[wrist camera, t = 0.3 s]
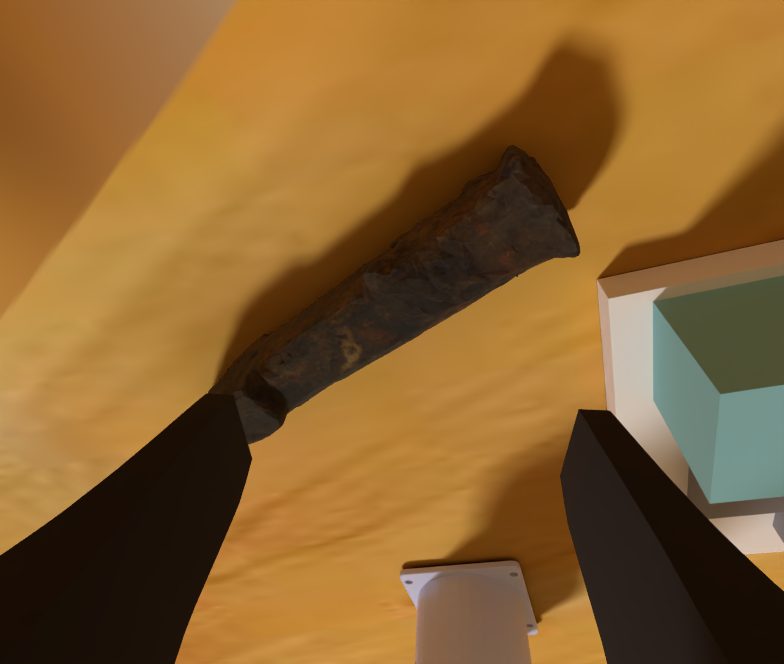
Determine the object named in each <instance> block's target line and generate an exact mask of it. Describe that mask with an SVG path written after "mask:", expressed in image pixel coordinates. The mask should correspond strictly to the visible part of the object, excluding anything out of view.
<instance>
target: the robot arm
mask: <svg viewBox="0 0 784 664" xmlns="http://www.w3.org/2000/svg"><path fill="white" fill-rule="evenodd" d="M251 461H252V457H251V453H250V450H249V446H248V443H247V440H246V436H245V433H244V429H243V426H242V422H241V419H240V415H239V412H238V409H237V405H236V402H235V398H234V395H228V394H205V395H204V396H203V397H202V398H200V399H199V400H198V401H197V402H195V403H194V404H193V405H192V406H191V407H190V408H188V409H187V410H186V411H185V412H184V413H183V414H181V415H180V416H179V417H178V418H177V419H176V420H175V421H173V422H172V423H171V424H170V425H169V426H168V427H166V428H165V429H164V430H163V431H162V432H161V433H160V434H158V435H157V436H156V437H155V438H154V439H153V440H151V441H150V442H149V443H148V444H147V445H145V446H144V447H143V448H142V449H141V450H140V451H138V452H137V453H136V454H135V455H134V456H132V457H131V458H130V459H129V460H128V461H126V462H125V463H124V464H123V465H122V466H121V467H119V468H118V469H117V470H116V471H114V472H113V473H112V474H110V475H109V476H108V477H107V478H105V479H104V480H103V481H102V482H100V483H99V484H98V485H96V486H95V487H94V488H93V489H91V490H90V491H89V492H88V493H86V494H85V495H84V496H82V497H81V498H80V499H79V500H77V501H76V502H75V503H73V504H72V505H71V506H70V507H68V508H67V509H66V510H64V511H63V512H62V513H60V514H59V515H58V516H56V517H55V518H54V519H52V520H51V521H49V522H48V523H47V524H45V525H44V526H42V527H41V528H40V529H38V530H37V531H35V532H34V533H32V534H31V535H29V536H28V537H27V538H25V539H24V540H22V541H21V542H19V543H18V544H16V545H15V546H13V547H12V548H11V549H9V550H8V551H6V552H5V553H3V554H2V555H0V664H175V661H176V658H177V655H178V652H179V649H180V646H181V643H182V640H183V637H184V634H185V631H186V628H187V626H188V623H189V620H190V618H191V615H192V613H193V610H194V608H195V605H196V603H197V601H198V598H199V596H200V594H201V591H202V589H203V587H204V585H205V582H206V580H207V578H208V575H209V573H210V571H211V568H212V566H213V564H214V561H215V559H216V557H217V555H218V552H219V550H220V548H221V545H222V543H223V541H224V538H225V536H226V534H227V531H228V529H229V527H230V524H231V522H232V520H233V517H234V515H235V512H236V510H237V508H238V505H239V502H240V499H241V496H242V493H243V489H244V486H245V483H246V479H247V476H248V472H249V468H250V465H251ZM560 477H561V484H562V491H563V497H564V503H565V509H566V515H567V521H568V525H569V529H570V533H571V536H572V540H573V543H574V547H575V551H576V554H577V558H578V561H579V565H580V568H581V572H582V575H583V578H584V582H585V585H586V589H587V592H588V596H589V599H590V603H591V606H592V609H593V613H594V616H595V620H596V623H597V627H598V630H599V634H600V637H601V640H602V644H603V648H604V652H605V656H606V660H607V664H784V591H783V590H782V589H781V588H779V587H778V586H777V585H776V584H775V583H774V582H773V581H772V580H770V579H769V578H768V577H767V576H766V575H765V574H764V573H763V572H762V571H761V570H760V569H759V568H757V567H756V566H755V565H754V564H753V563H752V562H751V561H750V560H749V559H748V558H747V557H746V556H745V555H744V554H743V553H742V552H741V551H740V550H739V549H738V548H737V547H736V546H735V545H734V544H733V543H732V542H731V541H730V540H729V539H728V538H727V537H725V536H724V535H723V534H722V533H721V532H720V531H719V530H718V529H717V528H716V527H715V526H714V525H713V523H712V522H711V521H710V520H709V519H708V518H707V517H706V516H705V515H704V514H703V513H702V512H701V511H700V510H699V509H698V508H697V507H696V506H695V505H694V504H693V503H692V502H691V500H690V499H689V498H688V497H687V496H686V495H685V494H684V493H683V492H682V491H681V490H680V489H679V488H678V487H677V485H676V484H675V483H674V482H673V481H672V480H671V479H670V478H669V477H668V476H667V475H666V473H665V472H664V471H663V470H662V469H661V468H660V467H659V466H658V465H657V463H656V462H655V461H654V460H653V459H652V458H651V457H650V455H649V454H648V453H647V452H646V451H645V450H644V449H643V448H642V446H641V445H640V444H639V443H638V442H637V441H636V439H635V438H634V437H633V436H632V435H631V434H630V433H629V431H628V430H627V429H626V428H625V427H624V426H623V425H622V423H621V422H620V421H619V420H618V419H617V418H616V417H615V416H614V414H613V413H612V412H611V411H607V410H583V409H579V410H578V414H577V417H576V421H575V424H574V428H573V432H572V435H571V439H570V442H569V446H568V449H567V453H566V457H565V460H564V464H563V467H562V471H561V474H560ZM400 579H401V581H402V583H403V585H404V587H405V588H406V590H407V592H408V594H409V596H410V597H411V599H412V601H413V603H414V605H415V606H416V608H417V628H416V653H415V664H531V656H530V649H529V642H528V635H535V634H537V633H538V626H537V623H536V619H535V616H534V612H533V609H532V605H531V602H530V599H529V595H528V592H527V588H526V585H525V581H524V578H523V574H522V571H521V567H520V564H519V563H518V562H516V561H499V562H486V563H474V564H462V565H450V566H437V567H425V568H413V569H403V570H401V571H400Z"/></svg>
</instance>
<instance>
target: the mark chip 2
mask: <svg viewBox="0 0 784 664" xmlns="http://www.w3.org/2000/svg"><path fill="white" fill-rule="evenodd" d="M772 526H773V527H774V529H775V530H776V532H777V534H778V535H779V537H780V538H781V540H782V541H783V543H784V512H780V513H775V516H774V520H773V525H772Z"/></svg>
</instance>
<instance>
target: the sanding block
mask: <svg viewBox="0 0 784 664" xmlns="http://www.w3.org/2000/svg"><path fill="white" fill-rule="evenodd" d="M653 401H654V403H655V404H656V406H657V408H658V410H659V412H660V414H661V415H662V417H663V419H664V421H665V423H666V425H667V426H668V428H669V430H670V432H671V434H672V436H673V437H674V439H675V441H676V443H677V445H678V447H679V448H680V450H681V452H682V454H683V456H684V458H685V459H686V461H687V463H688V465H689V467H690V469H691V470H692V472H693V474H694V476H695V478H696V480H697V481H698V483H699V485H700V487H701V489H702V491H703V492H704V494H705V496H706V498H707V500H708V502H709V503H710V504H713V503H723V502H733V501H743V500H753V499H763V498H773V497H783V496H784V275H783V276H778V277H773V278H768V279H763V280H758V281H753V282H748V283H743V284H738V285H733V286H728V287H723V288H718V289H713V290H708V291H703V292H698V293H693V294H688V295H683V296H678V297H673V298H668V299H663V300H657V301H653Z"/></svg>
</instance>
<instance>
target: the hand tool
mask: <svg viewBox="0 0 784 664" xmlns="http://www.w3.org/2000/svg"><path fill="white" fill-rule="evenodd" d="M579 254H580V246H579V242H578V239H577V236H576V234H575V231H574V229H573V226H572V224H571V221H570V219H569V216H568V213H567V211H566V209H565V207H564V205H563V204H562V202H561V200H560V198H559V197H558V195H557V193H556V190H555V188H554V186H553V184H552V182H551V180H550V179H549V178H548V176H547V175H546V174H545V173H544V171H543V170H542V169H541V167H540V166H539V165H538V163H537V162H536V160H535V158H532V157H529V156H528V155H527V154H526V153H525V152H524V151H522V150H521V149H519V148H517V147H515V146H514V145H511V146H509V147H508V148H507V150H506V152H505V153H504V155H503V156H502V160H501V162H500V164H499V166H498V168H497V170H495V171H494V172H492V173H489V174H485V175H482V176H479V177H477V178H476V179H473V180H471V181H469V182H468V183H466V184H465V186H464V189H463V192H462V194H461V195H460V196H459V197H458V198H457V199H456V200H454V201H453V202H451V203H449V204H447V205H446V206H444V207H443V208H442V209H440V210H439V211H437V212H436V213H434V214H433V215H432V216H430V217H428V218H426V219H424V220H422V221H420V222H419V223H418V224H417V225H415V226H414V227H413V228H412V229H411V230H410V231H409V232H406V233H404V234H403V235H401V236H400V237H399V238H398V239H396V240H395V241H394V242H393V243H392V244H391V247H390V248H389V249H388V250H387V251H385V252H384V253H383V254H381V255H380V256H378V257H377V258H375V259H374V260H372V261H370V262H369V263H367V264H363V265H362V266H361V267H360V269H359V270H357V271H356V272H355V273H353V274H352V275H351V276H349V277H348V278H347V279H346V280H344V281H343V282H342V283H340V284H339V285H338V286H336V287H335V288H334V289H332V290H331V291H330V292H328V293H327V294H326V295H324V296H323V297H322V298H320V299H319V300H318V301H316V302H315V303H314V304H312V305H311V306H309V307H308V308H306V309H305V310H303V311H302V312H301V313H299V314H298V315H297V316H295V317H294V318H293V319H292V320H290V321H289V322H288V323H286V324H285V325H283V326H282V327H280V328H279V329H278V330H276V331H275V332H274V333H272V334H271V335H263V336H262V337H260V338H259V339H258V340H257V341H256V342H254V343H253V344H252V345H251V346H250V347H249V348H248V349H247V350H246V351H244V352H243V353H242V354H241V355H240V356H239V357H238V358H237V359H236V360H235V361H234V362H233V364H232V366H231V367H230V368H229V369H227V372H226V373H225V375H224V376H223V378H221V379H220V380H219V382H218V383H217V385H214V386H213V387H212V388H211V389H210V390H209V392H208V394H228V395H234V398H235V402H236V405H237V409H238V412H239V415H240V419H241V422H242V426H243V429H244V433H245V436H246V440H247V443H248V444H251V443H254V442H257V441H260V440H262V439H264V438H266V437H268V436H270V435H271V434H273V433H274V432H275V431H276V430H278V429H279V428H280V427H281V426H282V425H283V424H284V421H285V418H286V415H287V414H288V413H289V412H290V411H292V410H293V409H295V408H296V407H298V406H301V405H302V404H304V403H305V402H306V401H308V400H309V399H310V398H312V397H313V396H315V395H316V394H318V393H319V392H321V391H322V390H324V389H325V388H327V387H329V386H330V385H332V384H333V383H335V382H337V381H340V380H342V379H344V378H346V377H348V376H350V375H351V374H353V373H355V372H356V371H358V370H360V369H361V368H363V367H365V366H366V365H368V364H370V363H372V362H373V361H375V360H377V359H379V358H381V357H383V356H384V355H386V354H388V353H390V352H391V351H393V350H395V349H397V348H398V347H400V346H402V345H403V344H405V343H407V342H408V341H410V340H412V339H414V338H416V337H417V336H419V335H420V334H422V333H423V332H424V331H426V330H428V329H430V328H432V327H433V326H435V325H437V324H439V323H440V322H442V321H444V320H445V319H447V318H449V317H450V316H452V315H454V314H455V313H457V312H459V311H461V310H462V309H464V308H466V307H467V306H469V305H471V304H472V303H474V302H475V301H477V300H478V299H480V298H481V297H483V296H485V295H486V294H488V293H489V292H491V291H492V290H494V289H496V288H498V287H500V286H502V285H504V284H505V283H507V282H508V281H510V280H511V279H512V278H514V277H515V276H517V277H518V275H519V274H521V273H523V272H525V271H527V270H528V269H530V268H532V267H534V266H536V265H538V264H541V263H543V262H545V261H547V260H550V259H552V258H566V257H571V258H572V257H576V256H579Z"/></svg>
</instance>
